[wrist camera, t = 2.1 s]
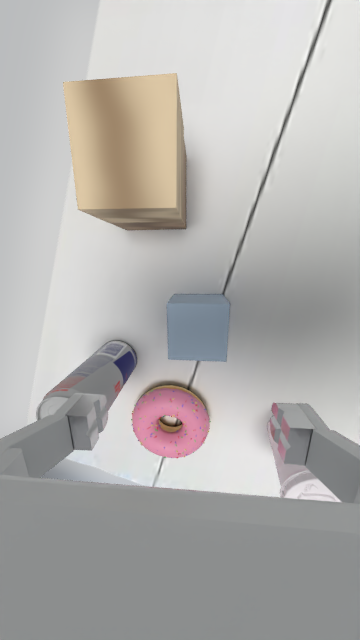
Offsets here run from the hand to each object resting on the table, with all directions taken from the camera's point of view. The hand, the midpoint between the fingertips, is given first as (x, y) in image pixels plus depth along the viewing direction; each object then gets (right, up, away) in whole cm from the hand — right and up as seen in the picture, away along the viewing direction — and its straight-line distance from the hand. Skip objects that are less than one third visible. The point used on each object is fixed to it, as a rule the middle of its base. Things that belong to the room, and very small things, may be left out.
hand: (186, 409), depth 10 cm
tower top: (-4, +17, +8) cm, 19 cm away
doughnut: (-1, -9, +21) cm, 23 cm away
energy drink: (-9, -1, +19) cm, 21 cm away
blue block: (+2, +5, +16) cm, 17 cm away
